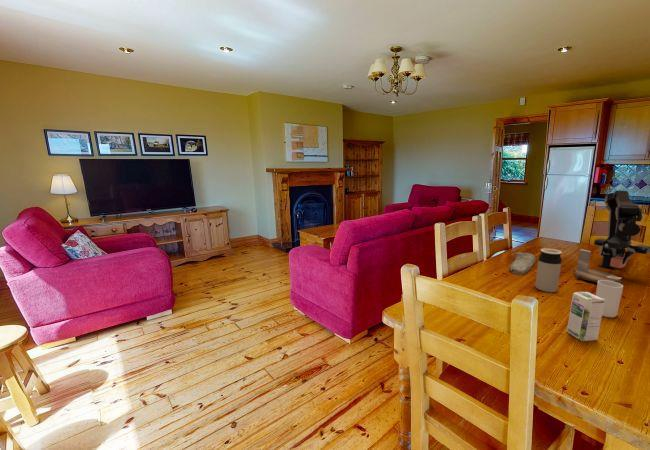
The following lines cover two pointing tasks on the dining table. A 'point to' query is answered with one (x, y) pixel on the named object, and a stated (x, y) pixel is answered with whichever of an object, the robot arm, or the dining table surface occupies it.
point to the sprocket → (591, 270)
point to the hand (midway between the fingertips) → (618, 262)
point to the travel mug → (548, 270)
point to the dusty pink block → (617, 262)
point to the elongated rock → (522, 263)
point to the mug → (609, 296)
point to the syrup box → (585, 316)
